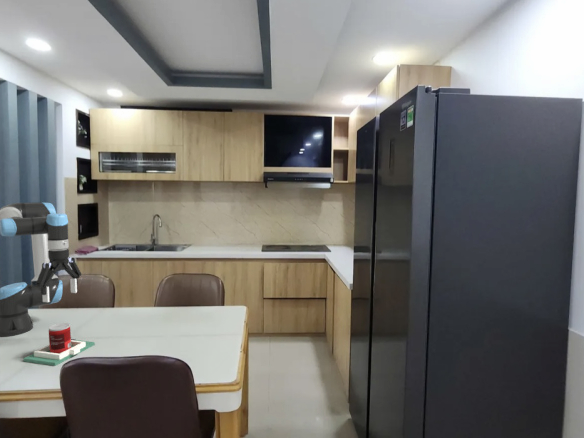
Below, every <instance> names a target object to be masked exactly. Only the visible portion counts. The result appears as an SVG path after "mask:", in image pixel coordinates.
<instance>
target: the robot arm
mask: <svg viewBox="0 0 584 438" xmlns="http://www.w3.org/2000/svg"><path fill="white" fill-rule="evenodd" d="M0 235H1V236H2V237H17V236H31V247H32V259H33V271H34V277H33V278H32V279H31V284H30V283H29V284H27V282H25V281H22V282H15V283H11V284H8V285H4V286H2V287H0V337H3V338H4V337H10V336H11V337H12V336H17V335H21V334H24V333H27V332H30V331H31V330H33V329H34V322H33V320H32V318H31V316H30V314H29V309H30V308H34V307H35V308H36V307H41V306H46V305H52V304H55V303H59V302H60V301H61V300H62V296H63V289H64V288H63V286H64V285H63V280H61V279H59V277H58V275H56V273H57V272H60V271H65V272H66V273H67V274H68V275H69V276H70V277H71V278H70V284H69V285H70V293H71V294H77V293H78V280H79V278H81V277H82V272H81V271H80V269H79V266H78V265H77V263H76V258H75V257H71V256H70V249H69V247H70V246H69V245H70V244H69V219H68V215H67V214H66V213H57V210H56V208H55V206H54V205H53V203H50V202H15V203H10V204H7V205H4V206H2V207H1V208H0ZM80 276H81V277H80Z"/></svg>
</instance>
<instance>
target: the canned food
mask: <svg viewBox="0 0 584 438" xmlns="http://www.w3.org/2000/svg"><path fill="white" fill-rule="evenodd" d="M48 339H49V340H48V342H49V344H48V345H50V353H58V354H60V353H62V352H64V351H66V350H68V349H70V348H71V339H72V336H71V324H70V323H68V322H59V323H54V324H52V325H50V326H49V327H48Z"/></svg>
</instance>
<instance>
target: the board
mask: <svg viewBox="0 0 584 438" xmlns="http://www.w3.org/2000/svg"><path fill="white" fill-rule="evenodd" d="M93 346H96V344H95V341H89V340H86V341H85V340H80V339H76V338H75V339H74V338H71V348H70V349H68V350H66V351H64V352H62V353H60V354H58V353H50V345H49V344H48V345H46V346H43V347H42V348H39V349H37V350H35V351H33V353H32V354H30V355H28V356H26V357H24V358H23V362H25V363H32V364H38V365H39V364H40V365H46V366H47V365H48V366H53V367H55V366H58V365H60V364H61V363H63V362H65V361H68V360H70V359H71V358H72V357H74V356H76V355H79V354H80V353H83V352H84V351H86V350H88V349H89V348H91V347H93Z"/></svg>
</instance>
